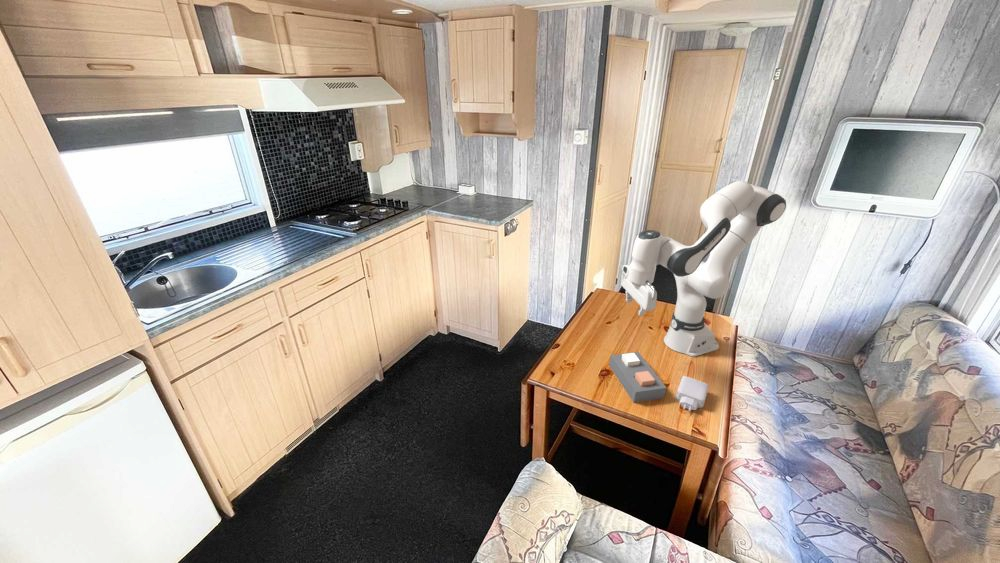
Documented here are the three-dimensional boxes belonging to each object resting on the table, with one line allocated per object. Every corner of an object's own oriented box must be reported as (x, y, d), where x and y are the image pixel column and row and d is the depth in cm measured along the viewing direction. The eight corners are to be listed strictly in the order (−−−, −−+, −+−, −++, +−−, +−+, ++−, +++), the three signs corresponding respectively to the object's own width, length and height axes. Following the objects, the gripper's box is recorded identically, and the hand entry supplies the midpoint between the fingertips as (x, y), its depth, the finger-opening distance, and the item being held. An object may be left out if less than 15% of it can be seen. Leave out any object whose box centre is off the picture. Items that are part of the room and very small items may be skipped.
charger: (671, 409, 142) (680, 384, 153) (699, 420, 137) (706, 393, 149) (674, 399, 140) (682, 374, 151) (702, 410, 135) (709, 384, 146)
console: (636, 361, 165) (638, 351, 162) (663, 397, 146) (666, 387, 144) (608, 365, 163) (610, 355, 160) (633, 402, 144) (635, 392, 142)
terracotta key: (646, 377, 150) (648, 370, 149) (653, 386, 146) (655, 379, 145) (634, 378, 150) (635, 372, 148) (640, 388, 145) (642, 381, 144)
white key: (632, 358, 160) (633, 352, 159) (638, 366, 156) (640, 360, 154) (621, 360, 159) (622, 354, 158) (626, 368, 155) (628, 362, 153)
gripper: (664, 288, 134) (656, 322, 141) (636, 262, 152) (629, 294, 159) (647, 289, 133) (639, 324, 140) (620, 263, 151) (615, 295, 158)
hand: (634, 308), depth 149 cm, fingers open, 8 cm apart
